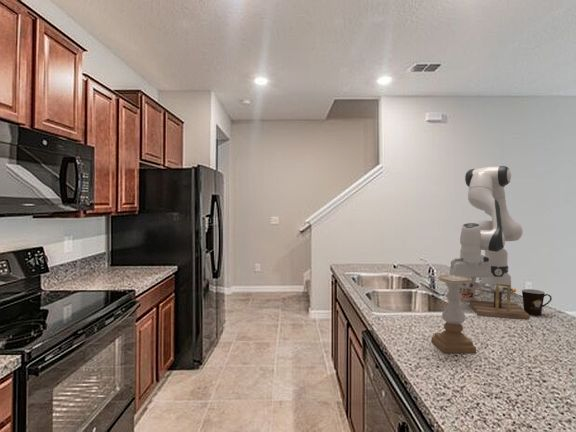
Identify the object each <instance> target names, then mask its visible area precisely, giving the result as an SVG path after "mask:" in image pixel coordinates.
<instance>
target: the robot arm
mask: <svg viewBox="0 0 576 432" xmlns="http://www.w3.org/2000/svg"><path fill="white" fill-rule="evenodd" d="M464 177H465V178H464V180H465V181H464V182H465V185H466V186H467V187H468V192H467V193H468V194H467V196H468V197H467V198H468V199H467V200H468V202H469V204H470V205H471V206H472V207H474V208H475V209H478V210H480V211H483V212H484V213H486V214H487V215H488V216H490V217H491V220H480V221H477V222H475V223H474V222H469V223H464V224H463V225H462V227H461V232H460V238H459V239H460V244H461V247H460V251H459V252H460V253H459V254H460V255H459V257H458V258H453V259H452V260H451V261H450V266H449V267H450V268H449V275H456V276H463V277H468V278H470V279H471V282H470V283H466V287H474V283H475V282H477V278H478V281H479V283H483V284H488V285H493V284H510V285H511V287H510V289H513V287H512V276H511V275H510V274H509V265H508V257H509V256H508V254H509V253H508V251H507V250H506V249H505V248H504V247H505V244H506V242H516V241H519V240H520V239H521V237H522V236H523V232H524V231H523V228H522V226H521V224H520V223H518V222H516V220H514V219H513V218H512V216H511V215H510V213H509V210H508V207H507V200H506V191H505V186H507V185H508V184H510V182H511V179H512V172H511V170H510V168H509V167H508V166H506V165H499V166H496V165H495V166H486V167H478V168H472V169H469V170H468V171H467V172H466V173H465V176H464ZM482 251H484V255H483V254H482ZM479 287H481V286H479ZM481 288H482V291H486V292H492V293H494V291H491V289H490V288H485V287H481ZM505 288H507V286H505ZM476 289H477V290H481V289H480V288H476ZM511 292H512V291H510V293H511ZM504 293H507V290H505V292H502V294H504Z"/></svg>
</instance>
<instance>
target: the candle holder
mask: <svg viewBox="0 0 576 432" xmlns="http://www.w3.org/2000/svg"><path fill="white" fill-rule="evenodd" d="M471 280H472V279H471V278H468V277H463V276H456V275H450V274H447V275H446V274H444V275H439V276H438V281H440V282H442V283H443V282H444V283H445V285H446V287H447V288H448V292H447V293H446V295H445V297H446V299H447V301H448V303H447V305H446V307H445V309H444V310H443V311H442V314H441V318H442V320H443V321H445V323H444V325H443V328H444V330H443V331H442V332H435V333H434V334H433V336H431V343H432V344H433V345H434V346H435V347H436V348H438V349H439V350H440V351H441V352H442V353H444V354H476V353H477V347H476V346H475V345H474V342H473V341H472V340H471V339H469V338H468V336H466V335H465V334H464V333H463V331H464V327H463V323H464V322H465V320H466V315H465V312H464V311H463V309H462V307H461V305H460V303H461V299H462V296H461V294H460V288H461V287H462V286H463V284H465V283H470V282H471Z"/></svg>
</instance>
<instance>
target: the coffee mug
mask: <svg viewBox="0 0 576 432" xmlns="http://www.w3.org/2000/svg"><path fill="white" fill-rule="evenodd" d="M521 293H522V294H521V295H522V296H521V297H522V303H523V306H522V307H523V310H524V311H526V312H527V313H528V314H529V316H541V315H542V310H543V307H545V306H547V305H549V303H550V302H551V301H552V295H550V294H548V293H546V292H545V291H543V290H540V289H532V288H530V289H529V288H527V289H525V288H524V289H521ZM546 296H548V297H549V300H548V301H547V302H546V303H544V300H545V299H544V298H545V297H546Z"/></svg>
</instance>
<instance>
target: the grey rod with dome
mask: <svg viewBox="0 0 576 432" xmlns="http://www.w3.org/2000/svg"><path fill="white" fill-rule="evenodd" d="M474 285H476V286H481V287H485V288H490V289H491V291H494V292H496V284H493V285H488V284H483V283H480V282H478V281H475V283H474ZM512 288H513V287H512ZM505 290H507V288H505V286H499V292H505ZM510 291H511V292H512V293H516V292H517V289H516V288H513V289H510ZM494 292H493V293H494ZM505 293H506V292H505Z"/></svg>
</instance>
